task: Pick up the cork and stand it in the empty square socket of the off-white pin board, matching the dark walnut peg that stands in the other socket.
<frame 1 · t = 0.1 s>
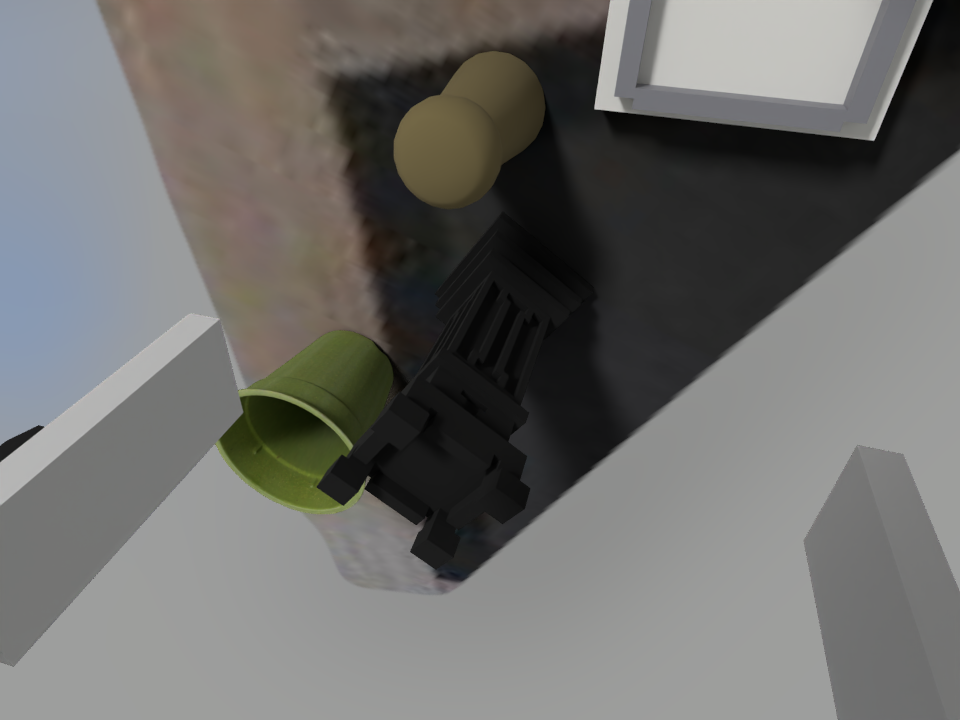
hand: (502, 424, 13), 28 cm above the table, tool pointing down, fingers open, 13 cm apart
chess piece: (513, 286, 43), on the table
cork: (496, 106, 37), on the table
plant pot: (355, 364, 52), on the table
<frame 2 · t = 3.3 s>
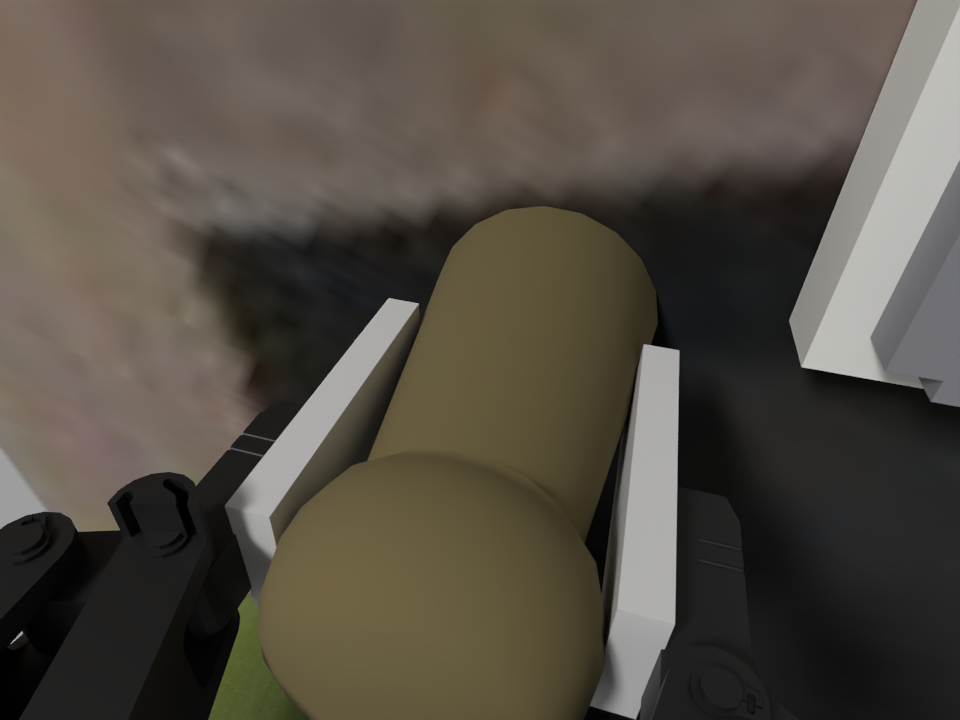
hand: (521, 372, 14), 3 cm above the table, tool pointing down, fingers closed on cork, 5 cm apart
chess piece: (563, 584, 24), on the table
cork: (544, 309, 17), on the table, touching gripper
plant pot: (294, 632, 32), on the table
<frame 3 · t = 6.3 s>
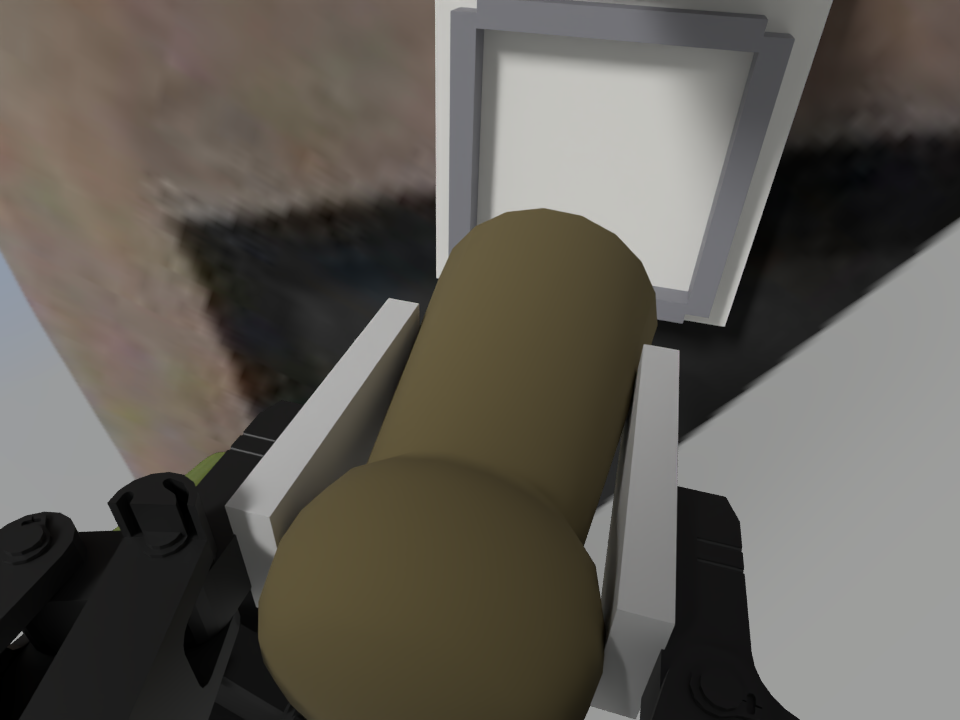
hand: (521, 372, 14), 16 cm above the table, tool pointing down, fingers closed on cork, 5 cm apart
chess piece: (391, 423, 41), on the table
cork: (544, 310, 17), point 13 cm above the table, touching gripper
plant pot: (247, 481, 50), on the table
when the fingers open (5 cm above the table, at t = 9.5 s): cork stays where it is, resting on pin board.
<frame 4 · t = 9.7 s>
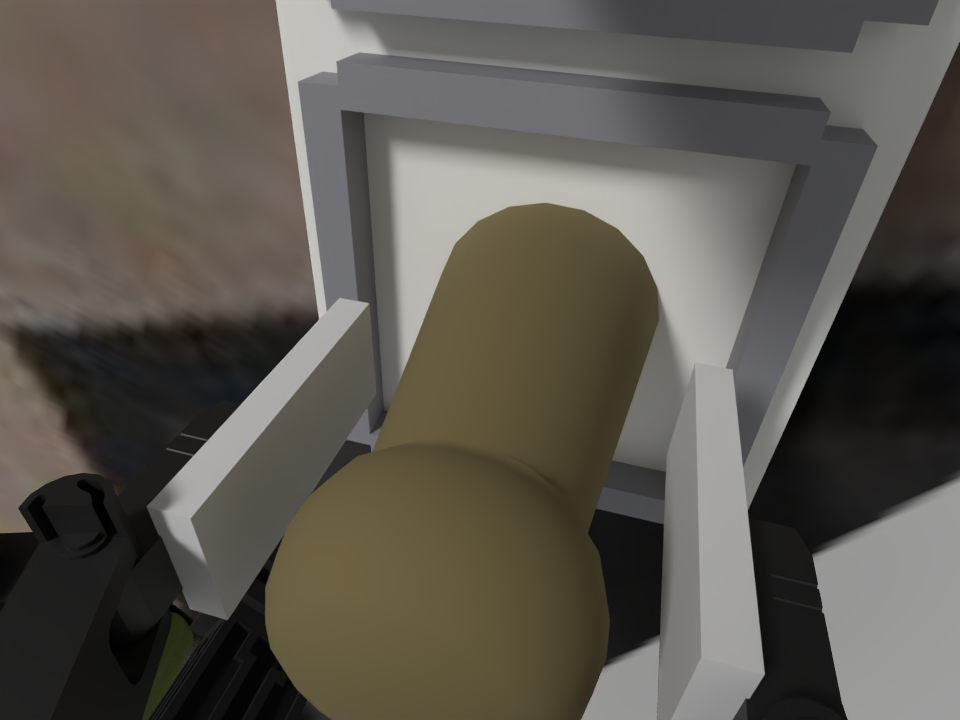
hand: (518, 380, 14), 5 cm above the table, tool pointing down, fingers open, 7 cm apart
pin board: (587, 34, 15), on the table
chess piece: (308, 569, 32), on the table
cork: (546, 305, 17), point 2 cm above the table, touching pin board
plant pot: (149, 611, 41), on the table
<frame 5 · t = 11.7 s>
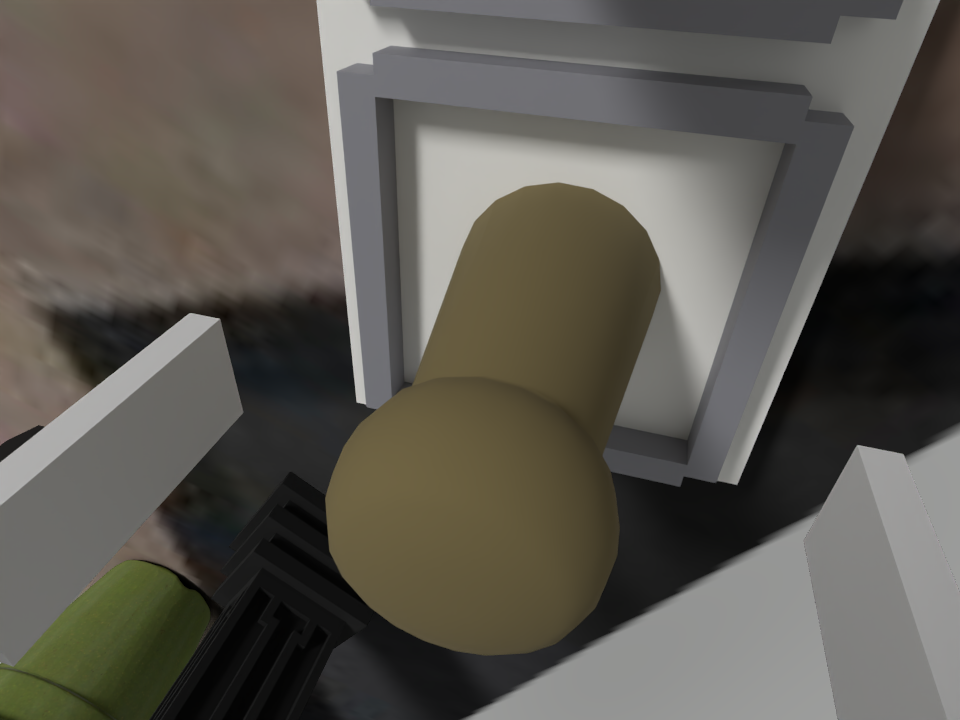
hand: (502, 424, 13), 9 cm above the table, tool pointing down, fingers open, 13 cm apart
pin board: (596, 29, 16), on the table
chess piece: (324, 544, 34), on the table
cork: (557, 278, 18), point 2 cm above the table, touching pin board
plant pot: (167, 589, 42), on the table
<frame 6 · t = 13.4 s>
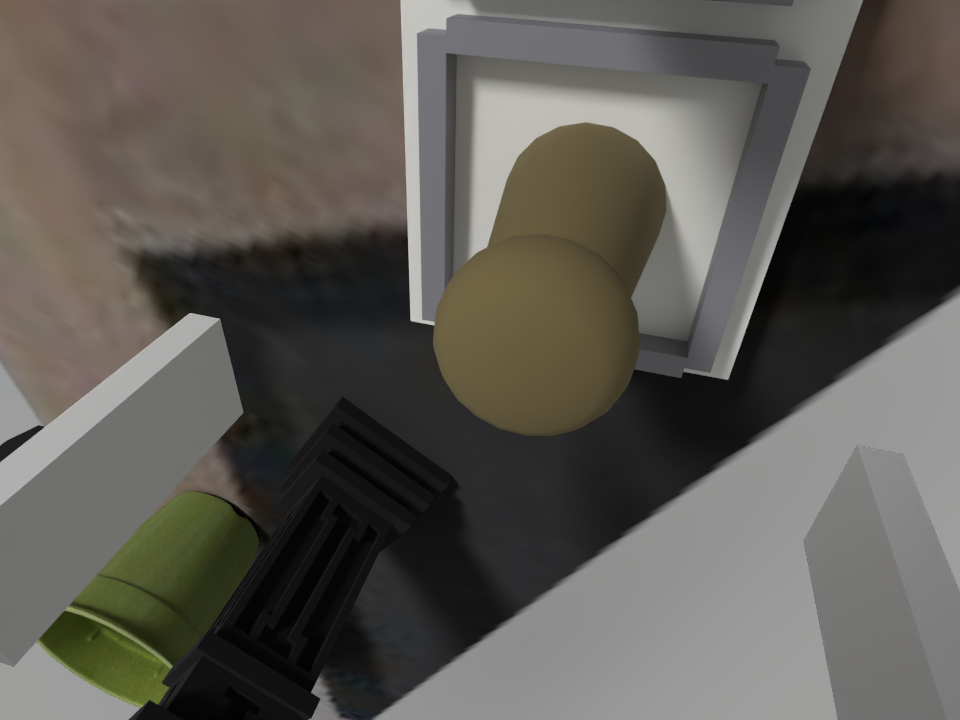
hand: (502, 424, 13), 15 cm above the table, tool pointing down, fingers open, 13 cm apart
pin board: (616, 1, 21), on the table
chess piece: (368, 466, 38), on the table
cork: (583, 204, 23), point 2 cm above the table, touching pin board
plant pot: (219, 521, 47), on the table
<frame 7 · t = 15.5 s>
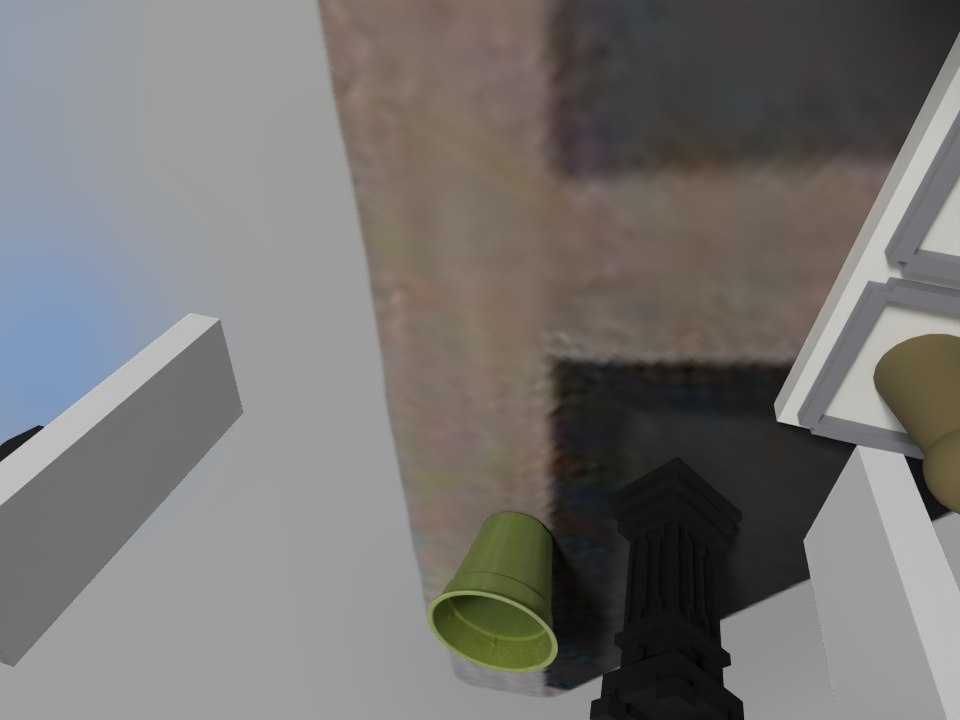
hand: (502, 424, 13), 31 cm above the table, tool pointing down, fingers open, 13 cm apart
chess piece: (672, 502, 55), on the table
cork: (925, 371, 40), point 2 cm above the table, touching pin board
plant pot: (517, 533, 63), on the table
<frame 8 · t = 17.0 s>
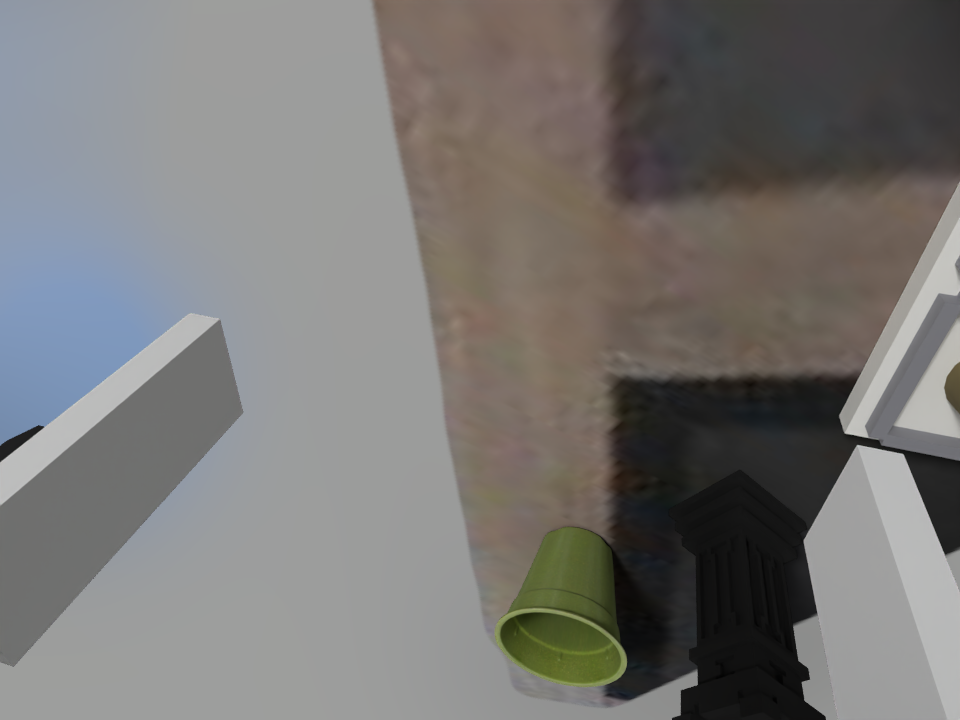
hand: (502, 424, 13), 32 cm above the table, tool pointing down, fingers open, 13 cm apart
chess piece: (734, 513, 55), on the table
plant pot: (576, 547, 63), on the table
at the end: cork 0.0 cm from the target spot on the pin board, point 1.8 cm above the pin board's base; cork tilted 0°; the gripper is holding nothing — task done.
